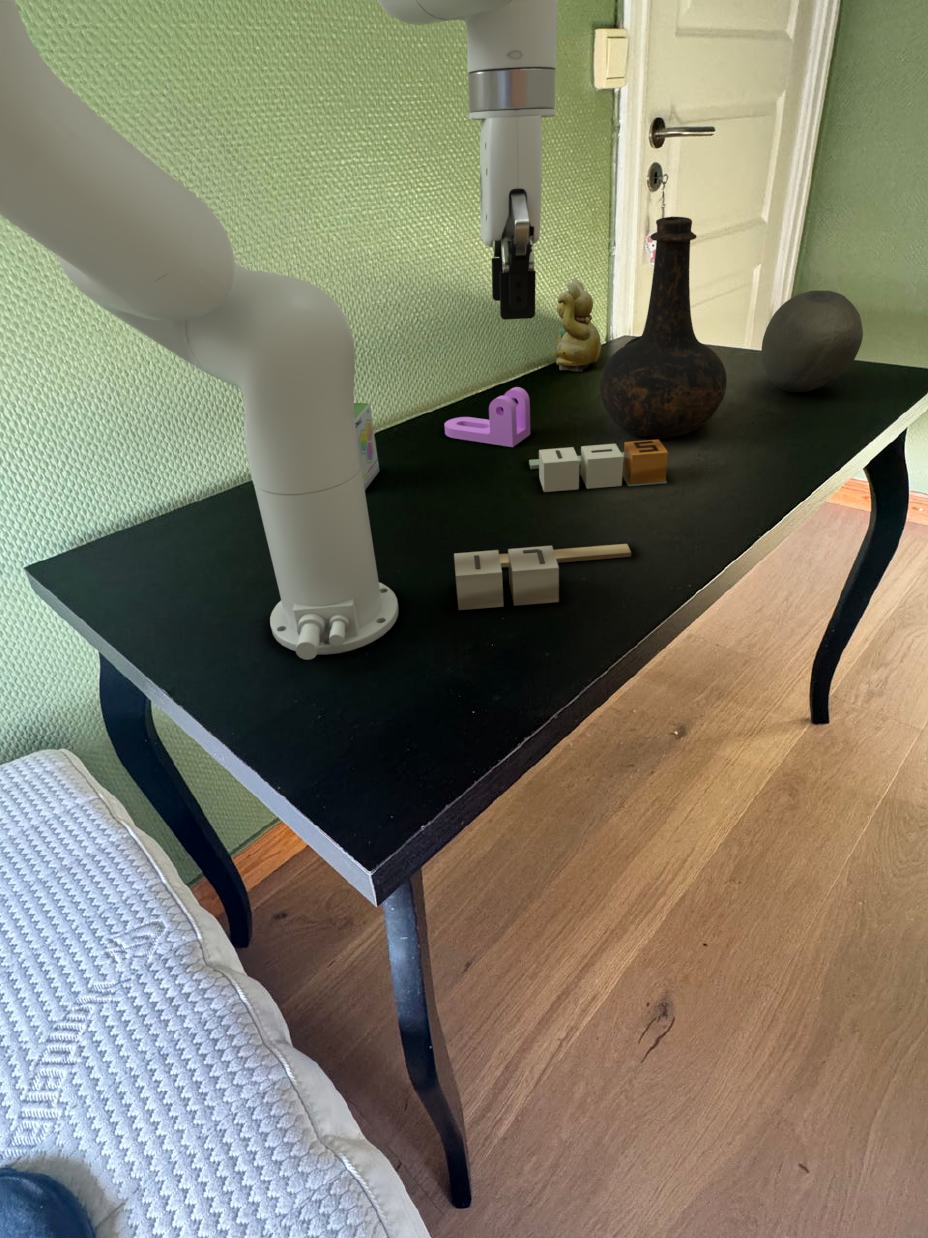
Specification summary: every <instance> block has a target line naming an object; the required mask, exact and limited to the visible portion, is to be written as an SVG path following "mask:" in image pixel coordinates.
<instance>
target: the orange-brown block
mask: <svg viewBox="0 0 928 1238" xmlns="http://www.w3.org/2000/svg"><path fill="white" fill-rule="evenodd" d="M623 446H624V447H623V449H624V450H623V452H624V462H623V472H624V473H625V475H626V477H627V479H628V480H629V482H630V484H643V483H655V482H665V481H666V482H667V470H668V458H669V452H668V450H667V448H666V447H665V446H664V445H663V443H662V442H661V441H660V439H647V440H636V441H635V440H634V441H625V442H624V444H623Z"/></svg>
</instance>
